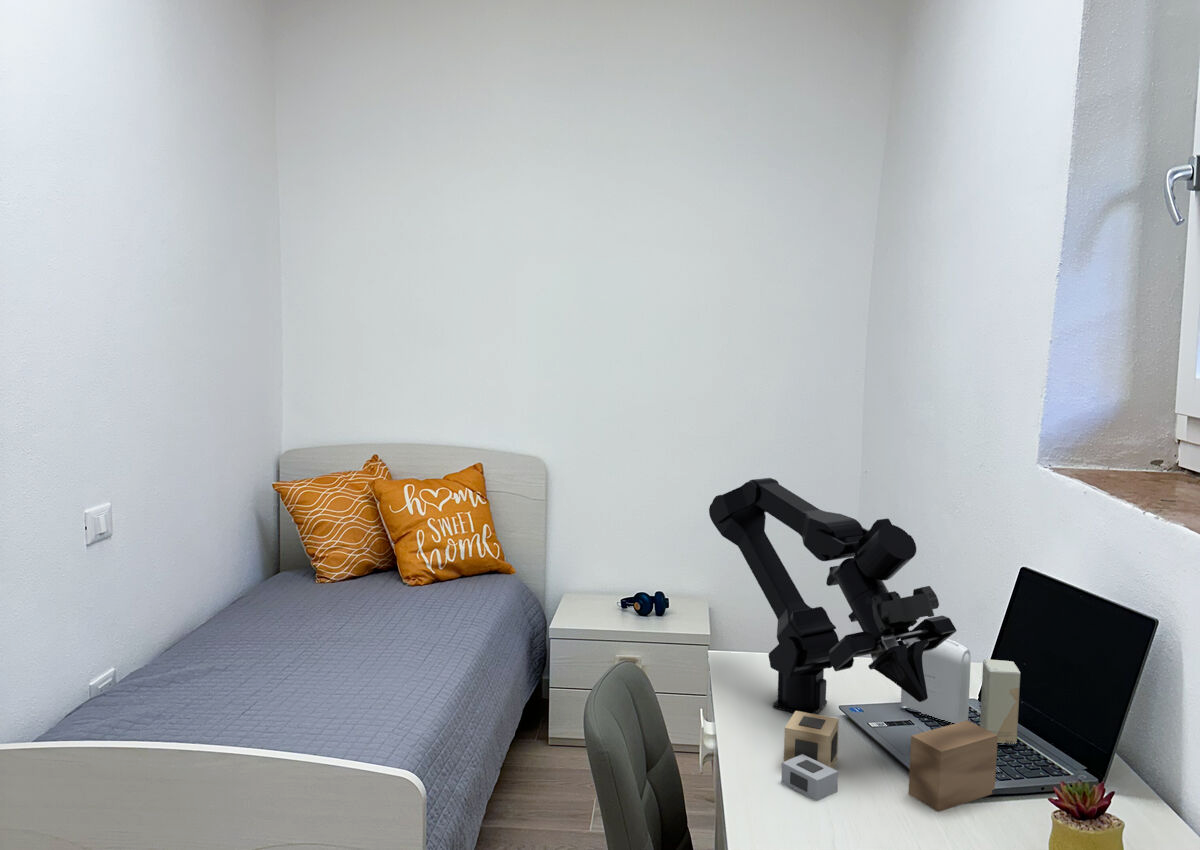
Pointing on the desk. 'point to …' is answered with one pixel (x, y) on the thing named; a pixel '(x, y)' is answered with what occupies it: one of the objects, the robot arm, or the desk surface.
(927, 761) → the walnut block
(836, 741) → the oak cube
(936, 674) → the photo printer
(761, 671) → the desk surface
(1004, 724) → the box
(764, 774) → the desk surface
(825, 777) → the grey block
